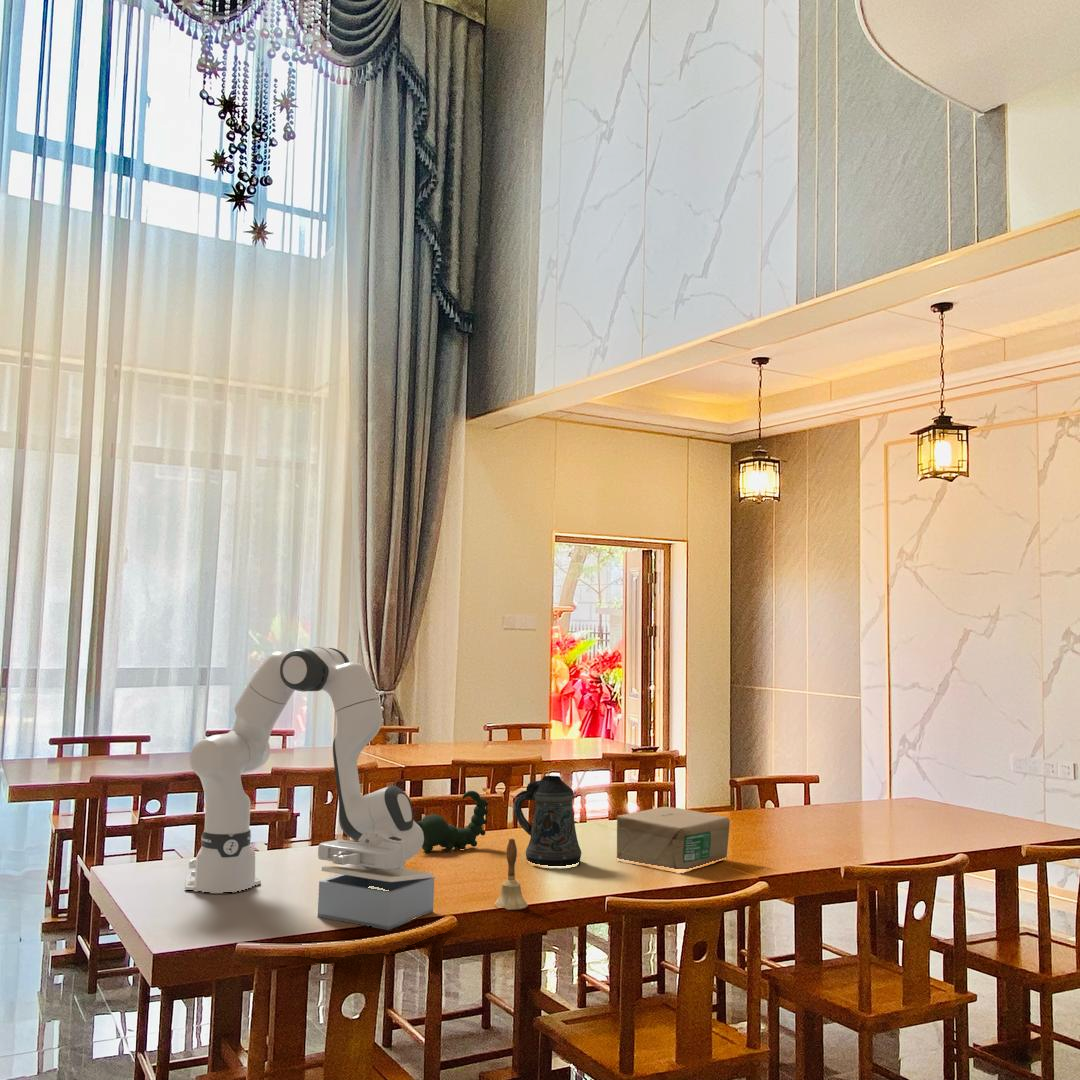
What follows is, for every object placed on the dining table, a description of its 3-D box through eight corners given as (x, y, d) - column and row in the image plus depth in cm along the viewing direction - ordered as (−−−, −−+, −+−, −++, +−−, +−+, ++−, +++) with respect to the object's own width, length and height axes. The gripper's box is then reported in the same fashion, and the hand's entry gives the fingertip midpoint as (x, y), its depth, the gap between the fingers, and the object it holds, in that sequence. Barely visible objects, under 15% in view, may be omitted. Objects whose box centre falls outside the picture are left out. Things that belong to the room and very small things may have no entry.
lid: (365, 867, 249) (366, 862, 249) (432, 877, 240) (432, 872, 240) (321, 870, 234) (322, 865, 234) (390, 882, 225) (391, 876, 225)
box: (365, 900, 249) (366, 866, 250) (433, 911, 240) (434, 877, 240) (317, 916, 233) (319, 881, 233) (388, 930, 224) (390, 893, 224)
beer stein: (590, 867, 292) (592, 779, 294) (528, 871, 285) (530, 781, 287) (567, 855, 307) (569, 772, 310) (507, 859, 300) (510, 774, 302)
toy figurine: (475, 850, 320) (401, 848, 309) (482, 789, 323) (408, 785, 312) (487, 856, 312) (411, 854, 301) (494, 793, 314) (419, 789, 303)
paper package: (683, 876, 285) (683, 825, 287) (610, 861, 302) (611, 813, 304) (732, 862, 305) (733, 815, 307) (662, 849, 322) (662, 804, 324)
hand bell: (494, 910, 243) (496, 842, 245) (493, 901, 251) (495, 835, 253) (529, 910, 244) (530, 842, 245) (526, 901, 252) (528, 836, 254)
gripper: (340, 831, 241) (302, 840, 229) (411, 841, 232) (375, 851, 220) (339, 858, 241) (300, 868, 228) (410, 869, 231) (374, 881, 219)
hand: (338, 860), depth 224 cm, fingers closed
